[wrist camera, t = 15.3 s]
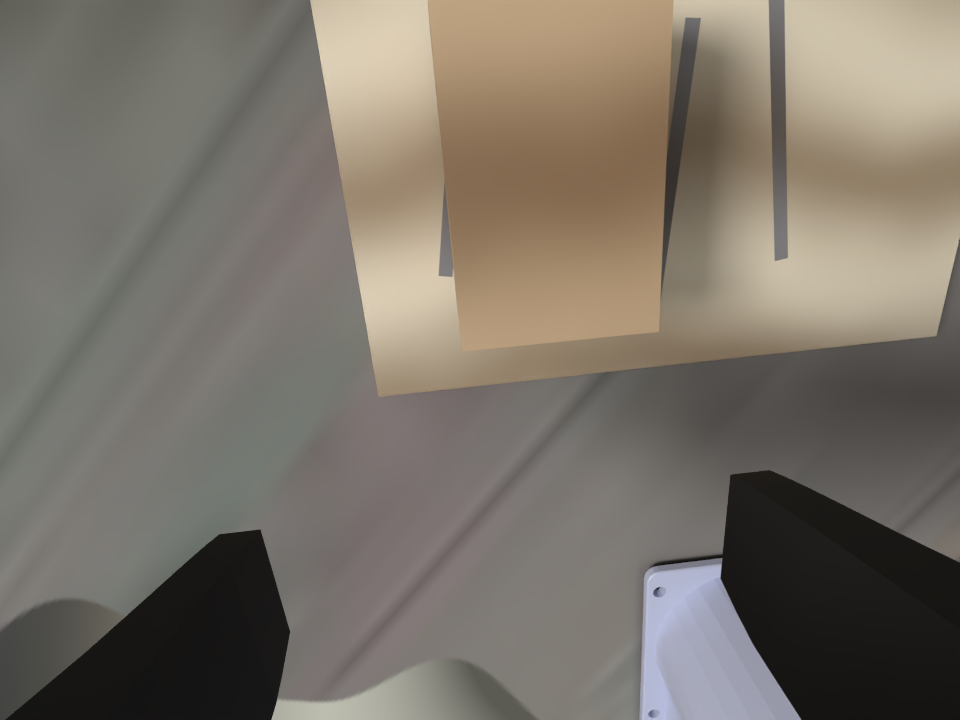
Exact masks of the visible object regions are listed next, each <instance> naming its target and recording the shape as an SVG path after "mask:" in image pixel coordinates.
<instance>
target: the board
mask: <svg viewBox="0 0 960 720" xmlns="http://www.w3.org/2000/svg"><path fill="white" fill-rule="evenodd" d="M310 1H311V6H312V12H313V18H314V24H315V30H316V36H317V41H318V47H319V53H320V59H321V65H322V70H323V76H324V82H325V88H326V94H327V99H328V105H329V111H330V117H331V123H332V129H333V134H334V140H335V146H336V152H337V158H338V163H339V169H340V175H341V181H342V187H343V193H344V198H345V204H346V210H347V216H348V222H349V227H350V233H351V239H352V245H353V251H354V256H355V262H356V268H357V274H358V280H359V286H360V291H361V297H362V303H363V309H364V315H365V320H366V326H367V332H368V338H369V344H370V350H371V355H372V361H373V367H374V373H375V379H376V384H377V390H378V396H379V397H381V396H390V395H399V394H408V393H417V392H427V391H436V390H445V389H454V388H463V387H473V386H482V385H491V384H500V383H509V382H519V381H528V380H537V379H546V378H555V377H565V376H574V375H583V374H592V373H601V372H611V371H620V370H629V369H638V368H647V367H657V366H666V365H675V364H684V363H693V362H703V361H712V360H721V359H730V358H739V357H749V356H758V355H767V354H776V353H785V352H795V351H804V350H813V349H822V348H831V347H841V346H850V345H859V344H868V343H877V342H887V341H896V340H905V339H914V338H923V337H933V336H936V335H937V331H938V327H939V323H940V319H941V314H942V310H943V306H944V302H945V298H946V293H947V289H948V285H949V281H950V276H951V272H952V268H953V264H954V260H955V255H956V251H957V247H958V243H959V239H960V0H674V1H673V24H672V46H671V69H670V91H669V114H668V136H667V159H666V182H665V204H664V227H663V249H662V272H661V294H660V317H659V332H652V333H642V334H632V335H622V336H613V337H603V338H593V339H583V340H573V341H563V342H553V343H543V344H533V345H523V346H513V347H503V348H493V349H483V350H473V351H463V352H462V343H461V335H460V327H459V318H458V310H457V301H456V291H455V281H454V271H453V260H452V250H451V240H450V230H449V220H448V210H447V200H446V190H445V179H444V169H443V159H442V149H441V139H440V129H439V119H438V109H437V98H436V88H435V78H434V68H433V58H432V48H431V38H430V26H429V13H428V0H310Z"/></svg>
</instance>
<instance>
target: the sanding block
mask: <svg viewBox="0 0 960 720" xmlns="http://www.w3.org/2000/svg"><path fill="white" fill-rule="evenodd" d="M673 1H674V0H428V13H429V26H430V38H431V48H432V58H433V68H434V78H435V88H436V98H437V109H438V119H439V129H440V139H441V149H442V159H443V169H444V179H445V190H446V200H447V210H448V220H449V230H450V240H451V250H452V260H453V271H454V281H455V291H456V301H457V310H458V318H459V327H460V335H461V343H462V352H463V351H473V350H483V349H493V348H503V347H513V346H523V345H533V344H543V343H553V342H563V341H573V340H583V339H593V338H603V337H613V336H622V335H632V334H642V333H652V332H659V317H660V294H661V272H662V249H663V227H664V204H665V182H666V159H667V136H668V114H669V91H670V69H671V46H672V24H673Z"/></svg>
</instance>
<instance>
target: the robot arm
mask: <svg viewBox="0 0 960 720" xmlns="http://www.w3.org/2000/svg"><path fill="white" fill-rule="evenodd" d="M658 587H660V588H659V589H656V588H658ZM655 589H656V590H655ZM289 634H290V630H289V627H288V623H287V620H286V616H285V613H284V609H283V606H282V602H281V599H280V596H279V592H278V589H277V585H276V582H275V578H274V575H273V571H272V568H271V565H270V561H269V558H268V554H267V551H266V547H265V544H264V540H263V537H262V534H261V530H253V531H244V532H236V533H227V534H219V535H218V536H217V537H216V538H214V539H213V540H212V541H211V542H209V543H208V544H207V545H206V546H205V547H203V548H202V549H201V550H200V551H199V552H198V553H196V554H195V555H194V556H193V557H192V558H191V559H190V560H188V561H187V562H186V563H185V564H184V565H183V566H182V567H181V568H179V569H178V570H177V571H176V572H175V573H174V574H173V575H172V576H171V577H169V578H168V579H167V580H166V581H165V582H164V583H163V584H162V585H161V586H159V587H158V588H157V589H156V590H155V591H154V592H153V593H152V594H151V595H150V596H148V597H147V598H146V599H145V600H144V601H143V602H142V603H141V604H139V605H138V606H137V607H136V608H135V609H134V610H133V611H132V612H130V613H129V614H128V615H127V616H126V617H125V618H124V619H123V620H121V621H120V622H119V623H118V624H117V625H116V626H115V627H114V628H113V629H111V630H110V631H109V632H108V633H107V634H106V635H105V636H104V637H102V638H101V639H100V640H99V641H98V642H97V643H96V644H95V645H93V646H92V647H91V648H90V649H89V650H88V651H87V652H86V653H84V654H83V655H82V656H81V657H80V658H78V659H77V660H76V661H75V662H74V663H72V664H71V665H70V666H69V667H68V668H67V669H65V670H64V671H63V672H62V673H61V674H59V675H58V676H57V677H56V678H55V679H53V680H52V681H51V682H50V683H49V684H47V685H46V686H45V687H44V688H43V689H41V690H40V691H39V692H38V693H37V694H36V695H34V696H33V697H32V698H31V699H30V700H28V701H27V702H26V703H25V704H24V705H22V707H20V708H19V709H18V710H16V711H15V712H14V713H13V714H12V715H10V716H9V717H8V718H7V719H6V720H271V718H272V715H273V712H274V709H275V705H276V702H277V697H278V692H279V687H280V682H281V677H282V673H283V667H284V662H285V656H286V651H287V645H288V640H289ZM640 720H960V563H959V562H957V561H955V560H953V559H951V558H949V557H947V556H945V555H943V554H941V553H938V552H936V551H934V550H932V549H930V548H928V547H926V546H924V545H922V544H920V543H918V542H916V541H914V540H912V539H910V538H908V537H906V536H904V535H902V534H900V533H898V532H896V531H894V530H892V529H890V528H888V527H886V526H884V525H882V524H880V523H878V522H876V521H874V520H872V519H870V518H868V517H866V516H864V515H862V514H860V513H858V512H856V511H854V510H852V509H850V508H848V507H846V506H844V505H842V504H840V503H838V502H836V501H834V500H832V499H830V498H828V497H826V496H824V495H822V494H820V493H818V492H816V491H814V490H812V489H810V488H808V487H805V486H803V485H801V484H799V483H797V482H795V481H793V480H791V479H788V478H786V477H784V476H782V475H779V474H777V473H775V472H772V471H770V470H768V471H759V472H750V473H742V474H733V475H731V476H730V486H729V496H728V506H727V516H726V526H725V536H724V547H723V557H722V558H718V559H710V560H702V561H694V562H685V563H677V564H669V565H661V566H655V567H652V568H650V569H649V570H648V571H647V572H646V573H645V577H644V602H643V632H642V663H641V693H640Z"/></svg>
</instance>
